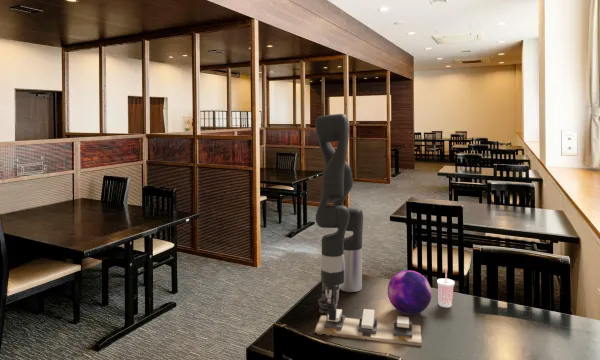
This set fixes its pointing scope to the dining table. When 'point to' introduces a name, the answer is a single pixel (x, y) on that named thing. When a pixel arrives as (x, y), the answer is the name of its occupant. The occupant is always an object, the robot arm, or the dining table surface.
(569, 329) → the dining table surface
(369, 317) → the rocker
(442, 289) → the beverage cup
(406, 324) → the block
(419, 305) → the decorative orb
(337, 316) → the block
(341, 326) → the switch board
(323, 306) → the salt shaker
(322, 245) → the robot arm
